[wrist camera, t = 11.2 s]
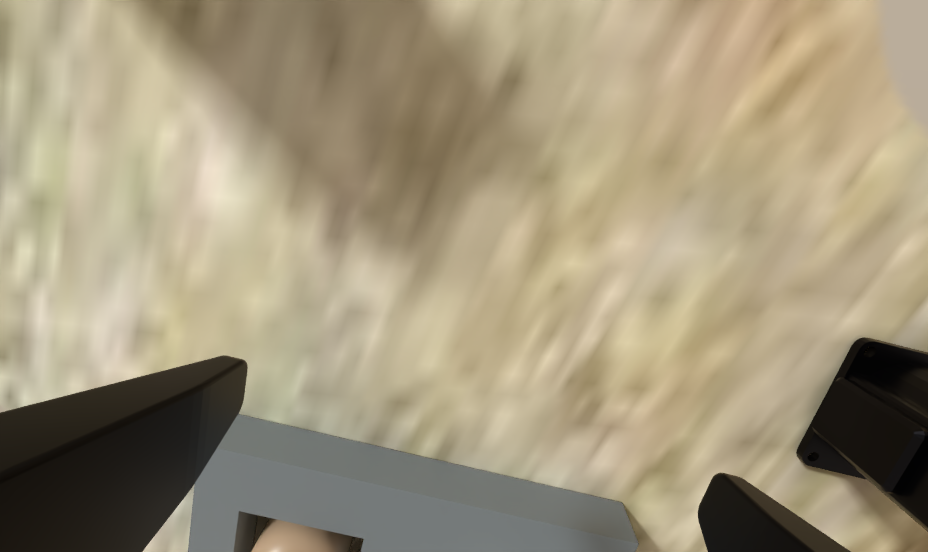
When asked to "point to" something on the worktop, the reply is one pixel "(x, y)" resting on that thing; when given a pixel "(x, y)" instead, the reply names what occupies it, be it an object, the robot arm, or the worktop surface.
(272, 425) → the egg carton
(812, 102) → the worktop surface
